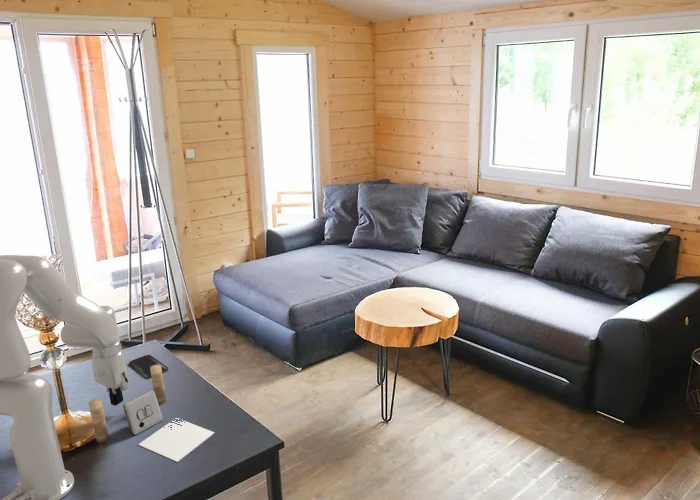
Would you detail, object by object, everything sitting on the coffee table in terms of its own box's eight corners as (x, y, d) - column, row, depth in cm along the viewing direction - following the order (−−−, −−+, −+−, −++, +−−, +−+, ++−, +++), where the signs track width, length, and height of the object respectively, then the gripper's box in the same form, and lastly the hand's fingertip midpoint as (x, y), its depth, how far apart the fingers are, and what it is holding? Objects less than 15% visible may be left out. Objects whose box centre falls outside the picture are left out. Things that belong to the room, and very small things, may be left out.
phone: (148, 354, 204) (169, 368, 194) (149, 356, 204) (169, 371, 194) (127, 362, 199) (147, 377, 188) (128, 364, 199) (147, 380, 189)
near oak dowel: (101, 444, 157) (94, 406, 153) (94, 440, 158) (86, 403, 154) (111, 437, 159) (104, 400, 155) (103, 434, 161) (96, 397, 157)
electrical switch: (134, 436, 160) (128, 406, 157) (125, 431, 163) (118, 402, 160) (163, 420, 166) (158, 392, 164) (153, 415, 170) (148, 387, 167)
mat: (177, 462, 149) (177, 461, 149) (138, 444, 156) (138, 444, 156) (214, 432, 160) (214, 432, 160) (176, 418, 167) (176, 417, 167)
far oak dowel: (160, 405, 174) (155, 370, 170) (153, 402, 175) (147, 368, 172) (168, 400, 176) (163, 366, 173) (161, 397, 178) (156, 363, 174)
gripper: (78, 348, 164) (90, 402, 170) (113, 360, 156) (123, 416, 163) (101, 337, 170) (111, 389, 176) (135, 348, 163) (144, 403, 169)
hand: (117, 402), depth 169 cm, fingers closed
